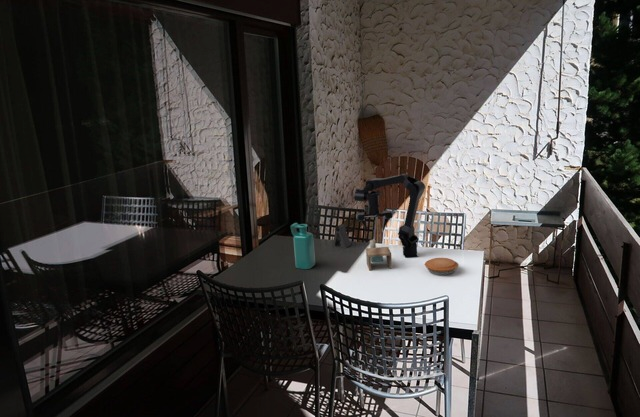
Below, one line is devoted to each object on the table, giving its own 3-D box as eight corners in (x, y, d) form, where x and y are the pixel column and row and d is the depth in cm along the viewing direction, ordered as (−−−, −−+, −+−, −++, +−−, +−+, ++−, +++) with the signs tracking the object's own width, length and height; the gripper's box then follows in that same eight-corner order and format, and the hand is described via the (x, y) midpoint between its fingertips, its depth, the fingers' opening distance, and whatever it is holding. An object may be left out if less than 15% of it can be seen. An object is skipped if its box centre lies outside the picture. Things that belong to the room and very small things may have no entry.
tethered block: (378, 249, 279) (377, 239, 277) (383, 260, 262) (382, 249, 260) (367, 250, 279) (366, 240, 277) (371, 261, 262) (370, 250, 260)
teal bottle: (316, 264, 265) (313, 222, 259) (309, 269, 257) (306, 227, 252) (299, 262, 269) (296, 221, 263) (292, 268, 261) (288, 226, 256)
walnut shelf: (388, 261, 261) (388, 246, 259) (391, 269, 251) (391, 253, 249) (366, 263, 260) (366, 248, 258) (369, 270, 251) (368, 255, 249)
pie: (434, 279, 235) (434, 269, 234) (419, 268, 250) (418, 258, 248) (464, 274, 239) (464, 263, 238) (447, 263, 253) (447, 253, 252)
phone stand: (351, 245, 290) (350, 224, 287) (345, 248, 285) (344, 227, 283) (337, 243, 295) (336, 223, 292) (331, 246, 291) (330, 225, 288)
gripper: (388, 197, 281) (389, 225, 285) (354, 200, 281) (355, 228, 284) (392, 202, 270) (393, 231, 274) (356, 205, 270) (358, 233, 274)
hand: (374, 230), depth 277 cm, fingers open, 9 cm apart
